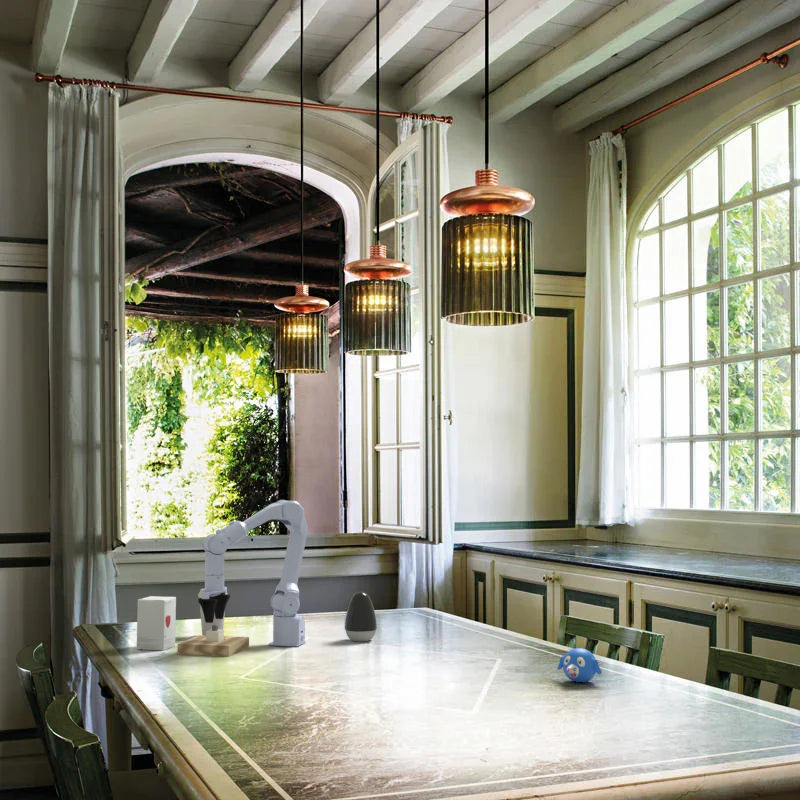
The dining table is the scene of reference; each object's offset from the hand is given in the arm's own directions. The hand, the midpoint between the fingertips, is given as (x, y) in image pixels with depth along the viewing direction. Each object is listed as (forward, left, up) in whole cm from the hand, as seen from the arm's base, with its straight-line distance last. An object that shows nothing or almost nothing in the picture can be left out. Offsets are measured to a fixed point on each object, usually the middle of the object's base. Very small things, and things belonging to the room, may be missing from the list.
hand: (214, 620), depth 309 cm
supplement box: (+19, -1, -9) cm, 21 cm away
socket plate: (0, 0, -9) cm, 9 cm away
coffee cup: (+11, -25, -9) cm, 29 cm away
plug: (0, 0, -9) cm, 9 cm away
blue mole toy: (-108, +25, -9) cm, 111 cm away
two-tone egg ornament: (-38, -27, -9) cm, 47 cm away
